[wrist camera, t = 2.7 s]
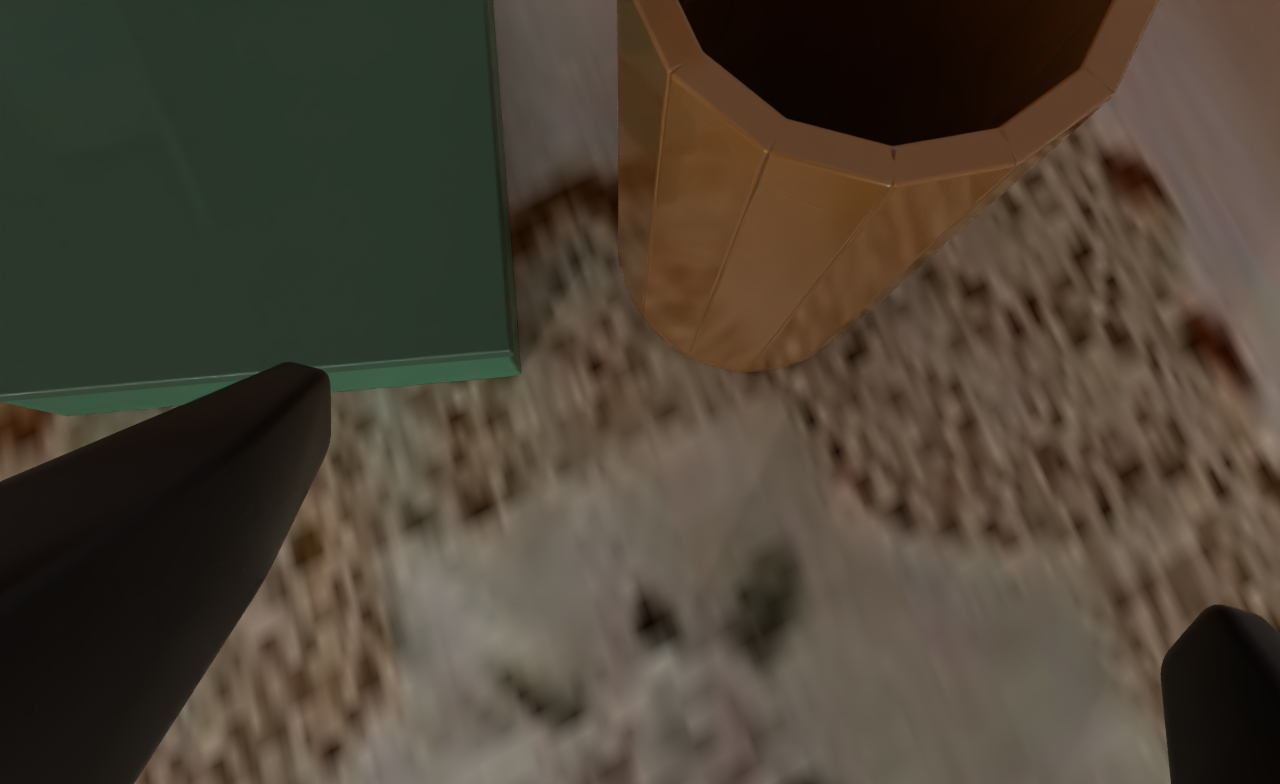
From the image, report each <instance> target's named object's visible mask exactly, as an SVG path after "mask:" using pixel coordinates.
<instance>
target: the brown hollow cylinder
mask: <svg viewBox="0 0 1280 784" xmlns="http://www.w3.org/2000/svg"><path fill="white" fill-rule="evenodd" d="M1158 1H1159V0H617V85H618V260H619V265H620V268H621V270H622V273H623V276H624V280H625V283H626V287H627V289H628V291H629V294H630V296H631V298H632V301H633V303H634V304H635V306H636V308H637V309H638V311H639V312H640V314H641V316H642V317H643V318H644V320H645V321H646V322H647V323H648V325H649V326H650V327H651V328H652V329H653V330H654V331H655V332H656V333H657V334H658V335H659V336H660V337H661V338H662V339H663V340H664V341H665V342H667V343H668V344H669V345H671V346H672V347H673V348H675V349H676V350H677V351H679V352H681V353H683V354H684V355H686V356H688V357H690V358H692V359H694V360H696V361H699V362H701V363H704V364H706V365H709V366H713V367H717V368H721V369H725V370H732V371H740V372H760V371H767V370H774V369H778V368H782V367H786V366H789V365H793V364H795V363H797V362H800V361H804V360H806V359H809V358H810V357H812V356H813V355H814V354H816V353H817V352H819V351H821V350H822V349H823V348H825V347H826V346H827V345H828V344H830V343H831V342H832V341H833V340H835V339H836V338H837V337H839V336H840V335H841V334H843V333H844V332H845V331H847V330H848V329H849V328H851V327H852V326H853V325H854V324H856V323H857V322H858V321H859V320H860V319H861V318H862V317H863V316H865V315H866V314H867V313H868V312H869V311H870V310H871V309H873V308H874V307H875V306H876V305H877V304H878V303H879V302H880V301H882V300H883V299H884V298H885V297H886V296H887V295H888V294H890V293H891V292H892V291H893V290H894V289H895V288H896V287H897V286H899V285H900V284H901V283H902V282H903V281H904V280H905V279H906V278H908V277H909V276H910V275H911V274H912V273H913V272H914V271H916V270H917V269H918V268H919V267H920V266H921V265H922V264H923V263H925V262H926V261H927V260H928V259H929V258H930V257H931V256H933V255H934V254H935V253H936V252H937V251H938V250H939V249H940V248H942V247H943V246H944V245H945V244H946V243H947V242H948V241H950V240H951V239H952V238H953V237H954V236H955V235H956V234H957V233H959V232H960V231H961V230H962V229H963V228H964V227H965V226H967V225H968V224H969V223H970V222H971V221H972V220H973V219H974V218H976V217H977V216H978V215H979V214H980V213H981V212H982V211H983V210H985V209H986V208H987V207H988V206H989V205H990V204H991V203H993V202H994V201H995V200H996V199H997V198H998V197H999V196H1000V195H1002V194H1003V193H1004V192H1005V191H1006V190H1007V189H1008V188H1010V187H1011V186H1012V185H1013V184H1014V183H1015V182H1016V181H1017V180H1019V179H1020V178H1021V177H1022V176H1023V175H1024V174H1025V173H1027V172H1028V171H1029V170H1030V169H1031V168H1032V167H1033V166H1034V165H1036V164H1037V163H1038V162H1039V161H1040V160H1041V159H1042V158H1043V157H1045V156H1046V155H1047V154H1048V153H1049V152H1050V151H1051V150H1053V149H1054V148H1055V147H1056V146H1057V145H1058V144H1059V143H1060V142H1062V141H1063V140H1064V139H1065V138H1066V137H1067V136H1068V135H1070V134H1071V133H1072V132H1073V131H1074V130H1075V129H1076V128H1077V127H1079V126H1080V125H1081V124H1082V123H1083V122H1084V121H1085V120H1087V119H1088V118H1089V117H1090V116H1091V115H1092V114H1093V113H1094V112H1096V111H1097V110H1098V109H1099V108H1100V107H1101V106H1102V105H1104V104H1105V103H1106V102H1107V101H1108V100H1109V99H1110V98H1111V96H1112V95H1113V94H1114V93H1115V92H1116V90H1117V88H1118V86H1119V84H1120V82H1121V80H1122V78H1123V75H1124V73H1125V71H1126V69H1127V67H1128V65H1129V63H1130V61H1131V58H1132V56H1133V54H1134V52H1135V50H1136V48H1137V46H1138V44H1139V42H1140V39H1141V37H1142V35H1143V33H1144V31H1145V29H1146V27H1147V25H1148V23H1149V20H1150V18H1151V16H1152V14H1153V12H1154V10H1155V8H1156V6H1157V4H1158Z"/></svg>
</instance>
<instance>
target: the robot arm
mask: <svg viewBox="0 0 1280 784" xmlns="http://www.w3.org/2000/svg"><path fill="white" fill-rule="evenodd" d="M330 437H331V385H330V379H329V376H328V374H327V373H326V372H325V371H324V370H322V369H318V368H314V367H310V366H307V365H303V364H299V363H295V362H284V363H281V364H278V365H276V366H274V367H271V368H269V369H267V370H264V371H262V372H259V373H257V374H255V375H252V376H250V377H248V378H245V379H243V380H240V381H238V382H236V383H233V384H231V385H229V386H226V387H224V388H221V389H219V390H217V391H214V392H212V393H210V394H207V395H205V396H202V397H200V398H198V399H195V400H193V401H191V402H188V403H186V404H183V405H181V406H179V407H176V408H174V409H171V410H169V411H167V412H164V413H162V414H160V415H157V416H155V417H152V418H150V419H148V420H145V421H143V422H141V423H138V424H136V425H133V426H131V427H129V428H126V429H124V430H122V431H119V432H117V433H114V434H112V435H110V436H107V437H105V438H103V439H100V440H98V441H95V442H93V443H91V444H88V445H86V446H84V447H81V448H79V449H76V450H74V451H72V452H69V453H67V454H65V455H62V456H60V457H57V458H55V459H53V460H50V461H48V462H46V463H43V464H41V465H38V466H36V467H34V468H31V469H29V470H27V471H24V472H22V473H19V474H17V475H15V476H12V477H10V478H7V479H5V480H3V481H0V784H134V783H135V781H136V780H137V778H138V777H139V775H140V773H141V772H142V770H143V769H144V767H145V766H146V764H147V763H148V761H149V759H150V758H151V756H152V755H153V753H154V752H155V750H156V749H157V747H158V745H159V744H160V742H161V741H162V739H163V738H164V736H165V735H166V733H167V731H168V730H169V728H170V727H171V725H172V724H173V722H174V721H175V719H176V717H177V716H178V714H179V713H180V711H181V710H182V708H183V707H184V705H185V703H186V702H187V700H188V699H189V697H190V696H191V694H192V693H193V691H194V689H195V688H196V686H197V685H198V683H199V682H200V680H201V679H202V677H203V675H204V674H205V672H206V671H207V669H208V668H209V666H210V665H211V663H212V662H213V660H214V658H215V657H216V655H217V654H218V652H219V651H220V649H221V648H222V646H223V644H224V643H225V641H226V640H227V638H228V637H229V635H230V634H231V632H232V630H233V629H234V627H235V626H236V624H237V623H238V621H239V620H240V618H241V616H242V615H243V613H244V612H245V610H246V609H247V607H248V606H249V604H250V602H251V601H252V599H253V598H254V596H255V594H256V593H257V591H258V589H259V588H260V586H261V584H262V583H263V581H264V579H265V578H266V576H267V574H268V572H269V570H270V568H271V566H272V564H273V562H274V560H275V558H276V556H277V554H278V552H279V550H280V548H281V546H282V544H283V542H284V540H285V538H286V536H287V534H288V532H289V530H290V527H291V525H292V523H293V521H294V519H295V517H296V515H297V513H298V511H299V509H300V507H301V505H302V503H303V501H304V499H305V497H306V495H307V493H308V491H309V488H310V486H311V484H312V482H313V480H314V478H315V476H316V474H317V472H318V470H319V468H320V466H321V464H322V462H323V460H324V458H325V455H326V453H327V450H328V447H329V443H330ZM1161 687H1162V697H1163V707H1164V717H1165V727H1166V738H1167V748H1168V758H1169V768H1170V778H1171V784H1280V633H1279V632H1278V631H1277V630H1275V629H1274V628H1273V627H1272V626H1271V625H1270V624H1269V623H1268V622H1267V621H1266V620H1265V619H1263V618H1262V617H1261V616H1259V615H1257V614H1255V613H1252V612H1248V611H1244V610H1241V609H1237V608H1233V607H1229V606H1225V605H1212V606H1210V607H1208V608H1206V609H1205V610H1203V611H1202V612H1201V614H1200V615H1199V616H1198V617H1197V618H1196V619H1195V620H1194V622H1193V623H1192V624H1191V625H1190V626H1189V627H1188V628H1187V630H1186V631H1185V632H1184V633H1183V634H1182V635H1181V636H1180V638H1179V639H1178V640H1177V641H1176V642H1175V643H1174V644H1173V646H1172V647H1171V648H1170V649H1169V650H1168V652H1167V653H1166V655H1165V657H1164V659H1163V663H1162V666H1161Z"/></svg>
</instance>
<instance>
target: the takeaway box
mask: <svg viewBox="0 0 1280 784" xmlns="http://www.w3.org/2000/svg"><path fill="white" fill-rule="evenodd" d="M284 362H295V363H299V364H303V365H307V366H310V367H314V368H318V369H322V370H324V371H325V372H326V373H327V374H328V376H329V379H330V385H331V392H341V391H352V390H363V389H374V388H385V387H397V386H408V385H419V384H430V383H442V382H453V381H464V380H475V379H486V378H498V377H509V376H518V375H520V374H521V364H520V351H519V338H518V325H517V311H516V298H515V285H514V272H513V259H512V246H511V233H510V220H509V207H508V194H507V180H506V167H505V154H504V141H503V128H502V115H501V102H500V89H499V76H498V62H497V49H496V36H495V23H494V10H493V0H0V402H2V403H7V404H12V405H17V406H22V407H26V408H31V409H36V410H41V411H45V412H50V413H55V414H60V415H65V416H71V415H82V414H94V413H105V412H116V411H127V410H138V409H150V408H161V407H172V406H181V405H183V404H186V403H188V402H191V401H193V400H195V399H198V398H200V397H202V396H205V395H207V394H210V393H212V392H214V391H217V390H219V389H221V388H224V387H226V386H229V385H231V384H233V383H236V382H238V381H240V380H243V379H245V378H248V377H250V376H252V375H255V374H257V373H259V372H262V371H264V370H267V369H269V368H271V367H274V366H276V365H278V364H281V363H284Z"/></svg>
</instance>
